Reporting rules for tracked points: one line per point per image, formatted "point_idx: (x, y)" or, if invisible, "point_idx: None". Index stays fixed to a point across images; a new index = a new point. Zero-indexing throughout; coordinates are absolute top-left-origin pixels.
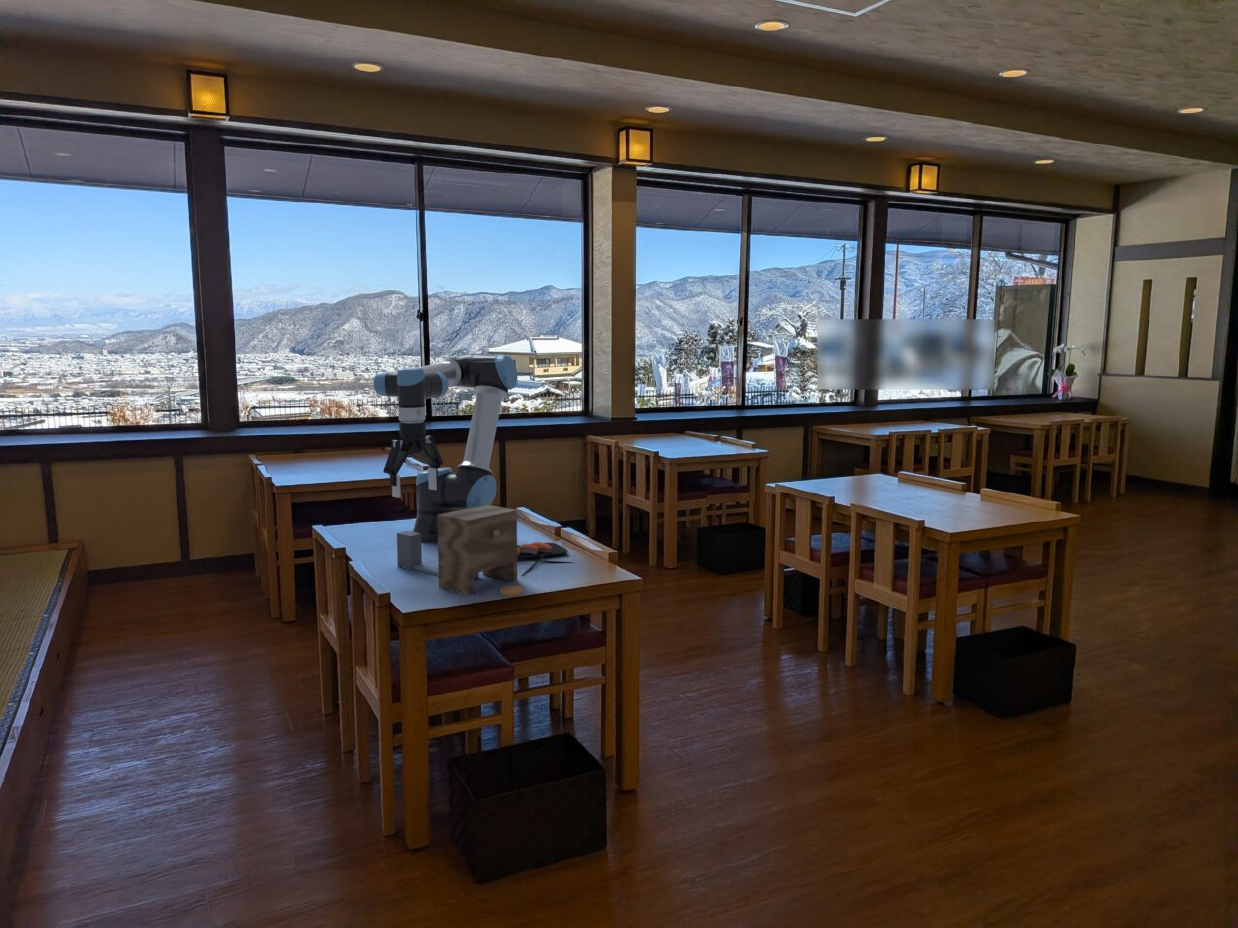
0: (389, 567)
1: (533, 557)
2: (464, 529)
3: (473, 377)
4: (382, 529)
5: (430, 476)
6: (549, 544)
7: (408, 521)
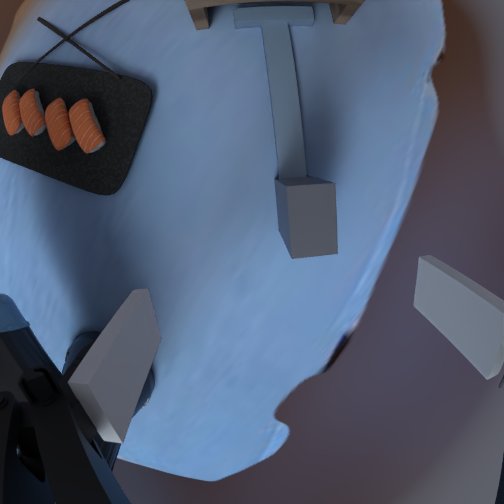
0: None
1: (55, 69)
2: None
3: None
4: (170, 451)
5: (132, 376)
6: None
7: None
